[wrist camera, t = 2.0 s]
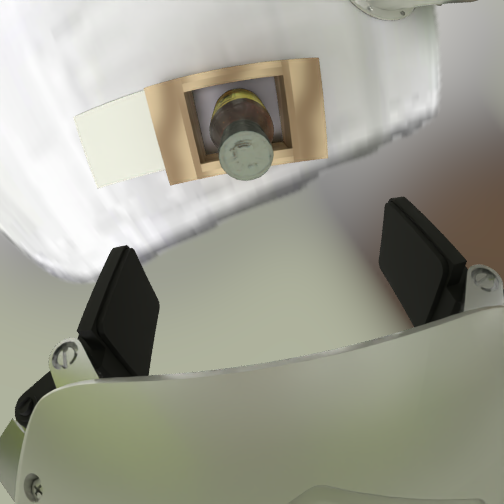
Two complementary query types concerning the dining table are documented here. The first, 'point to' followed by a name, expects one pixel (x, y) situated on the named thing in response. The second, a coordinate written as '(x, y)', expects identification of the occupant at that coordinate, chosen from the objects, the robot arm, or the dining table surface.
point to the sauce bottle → (242, 134)
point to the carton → (284, 71)
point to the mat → (120, 140)
